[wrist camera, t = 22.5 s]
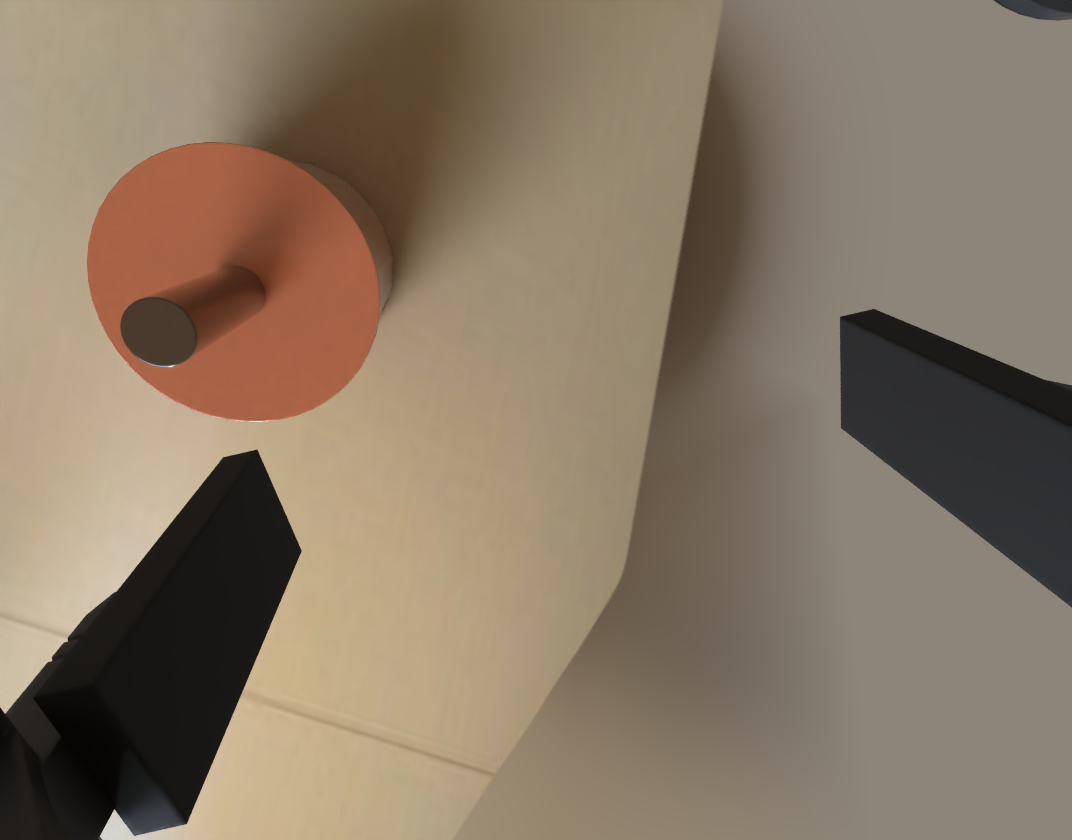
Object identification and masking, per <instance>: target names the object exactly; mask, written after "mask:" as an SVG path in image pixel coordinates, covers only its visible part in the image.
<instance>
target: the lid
mask: <svg viewBox="0 0 1072 840" xmlns="http://www.w3.org/2000/svg"><path fill="white" fill-rule="evenodd" d="M87 268H88V282H89V287H90V291H91V296H92V301H93V303H94V306H95V309H96V312H97V315H98V318H99V320H100V322H101V324H102V326H103V328H104V330H105V332H106V334H107V336H108V337H109V339H110V340H111V342H112V344H113V345H114V347H115V348H116V350H117V351H118V352H119V354H120V355H121V356H122V357H123V358H124V360H125V361H126V362H127V363H128V364H129V366H130V367H131V368H132V369H133V370H134V371H135V372H136V373H137V374H138V375H140V376H141V377H142V378H143V379H144V380H145V381H146V382H147V383H149V384H150V385H151V386H153V387H154V388H155V389H157V390H158V391H159V392H161V393H162V394H164V395H166V396H167V397H169V398H171V399H172V400H174V401H175V402H177V403H180V404H182V405H184V406H186V407H188V408H190V409H192V410H195V411H198V412H201V413H204V414H207V415H210V416H214V417H218V418H223V419H227V420H235V421H244V422H265V421H272V420H280V419H284V418H288V417H292V416H296V415H299V414H302V413H304V412H307V411H309V410H312V409H314V408H316V407H317V406H319V405H321V404H323V403H324V402H326V401H328V400H329V399H330V398H332V397H333V396H334V395H336V394H337V393H338V392H340V391H341V390H342V389H343V388H344V387H345V386H346V385H347V384H348V383H349V382H350V381H351V380H352V378H353V377H354V376H355V374H356V373H357V372H358V370H359V369H360V368H361V366H362V365H363V363H364V361H365V359H366V357H367V355H368V354H369V352H370V350H371V347H372V344H373V342H374V339H375V336H376V333H377V328H378V324H379V319H380V309H381V290H380V280H379V275H378V270H377V265H376V262H375V259H374V256H373V253H372V249H371V247H370V245H369V243H368V241H367V238H366V236H365V234H364V232H363V230H362V229H361V227H360V225H359V224H358V222H357V221H356V219H355V217H354V216H353V214H352V213H351V212H350V210H349V209H348V208H347V207H346V205H345V204H344V203H343V202H342V200H341V199H340V198H339V197H338V196H337V195H336V194H335V193H334V192H333V191H332V190H331V189H330V188H329V187H328V186H327V185H325V184H324V183H323V182H322V181H320V180H319V179H318V178H316V177H315V176H314V175H313V174H311V173H310V172H308V171H307V170H305V169H303V168H302V167H300V166H298V165H297V164H295V163H293V162H292V161H290V160H287V159H285V158H283V157H281V156H278V155H276V154H274V153H271V152H268V151H265V150H261V149H258V148H255V147H250V146H244V145H239V144H233V143H218V142H205V143H195V144H187V145H183V146H179V147H175V148H171V149H168V150H166V151H163V152H161V153H158V154H156V155H154V156H151V157H150V158H148V159H146V160H145V161H143V162H141V163H140V164H138V165H137V166H135V167H134V168H133V169H132V170H130V171H129V172H128V173H127V174H126V175H125V176H123V177H122V178H121V179H120V180H119V181H118V183H117V184H116V185H115V186H114V187H113V189H112V190H111V191H110V192H109V194H108V195H107V197H106V199H105V200H104V202H103V204H102V205H101V207H100V209H99V211H98V214H97V216H96V219H95V221H94V224H93V226H92V231H91V235H90V240H89V244H88V257H87Z"/></svg>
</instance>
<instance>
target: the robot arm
mask: <svg viewBox="0 0 1072 840" xmlns="http://www.w3.org/2000/svg"><path fill="white" fill-rule="evenodd" d="M840 359H841V428H842V429H843V430H844V431H846V432H847V433H848V434H849V435H851V436H852V437H853V438H855V439H856V440H857V441H859V442H860V443H861V444H863V445H864V446H865V447H866V448H867V449H869V450H870V451H871V452H873V453H874V454H875V455H876V456H878V457H879V458H881V459H882V460H883V461H884V462H885V463H887V464H888V465H890V466H891V467H892V468H893V469H894V470H896V471H897V472H898V473H900V474H901V475H902V476H904V477H905V478H906V479H907V480H909V481H910V482H911V483H913V484H914V485H915V486H916V487H918V488H919V489H920V490H921V491H923V492H924V493H926V494H927V495H928V496H929V497H931V498H932V499H933V500H934V501H936V502H937V503H938V504H940V505H941V506H942V507H943V508H945V509H946V510H947V511H949V512H950V513H951V514H952V515H954V516H955V517H956V518H958V519H959V520H960V521H961V522H963V523H964V524H965V525H967V526H968V527H969V528H971V529H972V530H973V531H974V532H976V533H977V534H978V535H979V536H981V537H982V538H983V539H985V540H986V541H987V542H989V543H990V544H991V545H992V546H994V547H995V548H996V549H997V550H999V551H1000V552H1001V553H1003V554H1004V555H1005V556H1006V557H1008V558H1009V559H1010V560H1012V561H1013V562H1014V563H1015V564H1017V565H1018V566H1019V567H1021V568H1022V569H1023V570H1025V571H1026V572H1027V573H1028V574H1030V575H1031V576H1032V577H1033V578H1035V579H1036V580H1037V581H1039V582H1040V583H1041V584H1042V585H1044V586H1045V587H1046V588H1048V589H1049V590H1050V591H1051V592H1053V593H1054V594H1055V595H1057V596H1058V597H1059V598H1061V599H1062V600H1063V601H1064V602H1066V603H1067V604H1068V605H1070V606H1071V607H1072V386H1071V385H1067V384H1062V383H1057V382H1052V381H1047V380H1043V379H1041V378H1038V377H1036V376H1034V375H1031V374H1029V373H1026V372H1024V371H1022V370H1019V369H1017V368H1014V367H1012V366H1010V365H1007V364H1005V363H1002V362H1000V361H998V360H995V359H993V358H990V357H988V356H986V355H983V354H981V353H978V352H976V351H974V350H971V349H969V348H966V347H964V346H962V345H959V344H957V343H954V342H952V341H950V340H947V339H945V338H942V337H939V336H938V335H935V334H933V333H930V332H928V331H926V330H923V329H920V328H918V327H916V326H914V325H911V324H909V323H906V322H904V321H902V320H899V319H897V318H894V317H892V316H890V315H887V314H885V313H882V312H880V311H877V310H875V309H872V310H868V311H864V312H859V313H855V314H850V315H846V316H842V317H840ZM300 554H301V548H300V546H299V544H298V541H297V539H296V537H295V535H294V532H293V530H292V528H291V525H290V523H289V521H288V519H287V516H286V514H285V512H284V510H283V507H282V505H281V503H280V500H279V498H278V496H277V494H276V491H275V489H274V487H273V484H272V482H271V480H270V478H269V475H268V473H267V471H266V468H265V466H264V464H263V462H262V459H261V457H260V455H259V452H258V450H254V451H249V452H245V453H241V454H236V455H232V456H227V457H223V458H222V460H221V461H220V462H219V464H218V465H217V466H216V467H215V469H214V470H213V471H212V472H211V474H210V475H209V476H208V477H207V479H206V480H205V481H204V482H203V484H202V485H201V486H200V487H199V489H198V490H197V491H196V492H195V494H194V495H193V496H192V498H191V499H190V500H189V501H188V503H187V504H186V505H185V506H184V508H183V509H182V510H181V511H180V513H179V514H178V515H177V516H176V518H175V519H174V520H173V521H172V523H171V524H170V525H169V526H168V528H167V529H166V530H165V532H164V533H163V534H162V535H161V537H160V538H159V539H158V540H157V542H156V543H155V544H154V545H153V547H152V548H151V549H150V550H149V552H148V553H147V554H146V555H145V557H144V558H143V559H142V560H141V562H140V563H139V564H138V565H137V567H136V568H135V569H134V571H133V572H132V573H131V574H130V576H129V577H128V578H127V579H126V581H125V582H124V583H123V584H122V586H121V587H120V588H119V589H118V591H117V592H115V593H113V594H112V595H111V596H109V597H108V598H107V599H106V600H104V601H103V602H102V603H101V604H99V605H98V606H97V607H96V608H95V609H93V610H92V611H91V612H90V613H88V614H87V615H86V616H85V617H84V619H83V620H82V621H81V622H80V624H79V625H78V626H77V627H76V628H75V630H74V631H73V632H72V633H71V635H70V636H69V637H68V642H65V643H63V644H62V645H61V647H60V648H59V649H58V650H57V652H56V653H55V654H54V655H53V656H52V661H51V662H48V663H47V664H46V665H45V666H44V667H43V669H42V670H41V671H40V672H39V674H38V675H37V676H36V677H35V678H34V680H33V681H32V682H31V683H30V685H29V686H28V687H27V688H26V689H25V691H24V692H23V693H22V694H21V696H20V697H19V698H18V699H17V700H16V702H15V703H14V704H13V705H12V707H11V708H10V709H9V710H8V711H7V713H6V714H5V713H4V712H3V711H2V709H1V708H0V840H102V839H101V837H100V835H101V833H102V831H103V829H104V827H105V825H106V824H107V822H108V820H109V818H110V816H111V814H112V812H113V811H114V809H115V810H116V812H117V813H118V814H119V816H120V817H121V819H122V820H123V821H124V823H125V824H126V825H127V827H128V828H129V829H130V831H131V832H132V833H133V835H134V836H136V835H140V834H145V833H149V832H153V831H158V830H162V829H167V828H171V827H175V826H180V825H184V824H187V822H188V820H189V817H190V815H191V813H192V810H193V808H194V805H195V803H196V801H197V798H198V796H199V794H200V791H201V789H202V786H203V784H204V782H205V779H206V777H207V775H208V772H209V770H210V767H211V765H212V763H213V760H214V758H215V756H216V753H217V751H218V748H219V746H220V744H221V741H222V739H223V736H224V734H225V732H226V729H227V727H228V725H229V722H230V720H231V717H232V715H233V713H234V710H235V708H236V706H237V703H238V701H239V698H240V696H241V694H242V691H243V689H244V687H245V684H246V682H247V679H248V677H249V675H250V672H251V670H252V668H253V665H254V663H255V660H256V658H257V656H258V653H259V651H260V649H261V646H262V644H263V641H264V639H265V637H266V634H267V632H268V630H269V627H270V625H271V622H272V620H273V618H274V615H275V613H276V611H277V608H278V606H279V603H280V601H281V599H282V596H283V594H284V592H285V589H286V587H287V584H288V582H289V580H290V577H291V575H292V573H293V570H294V568H295V565H296V563H297V561H298V558H299V556H300Z"/></svg>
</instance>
